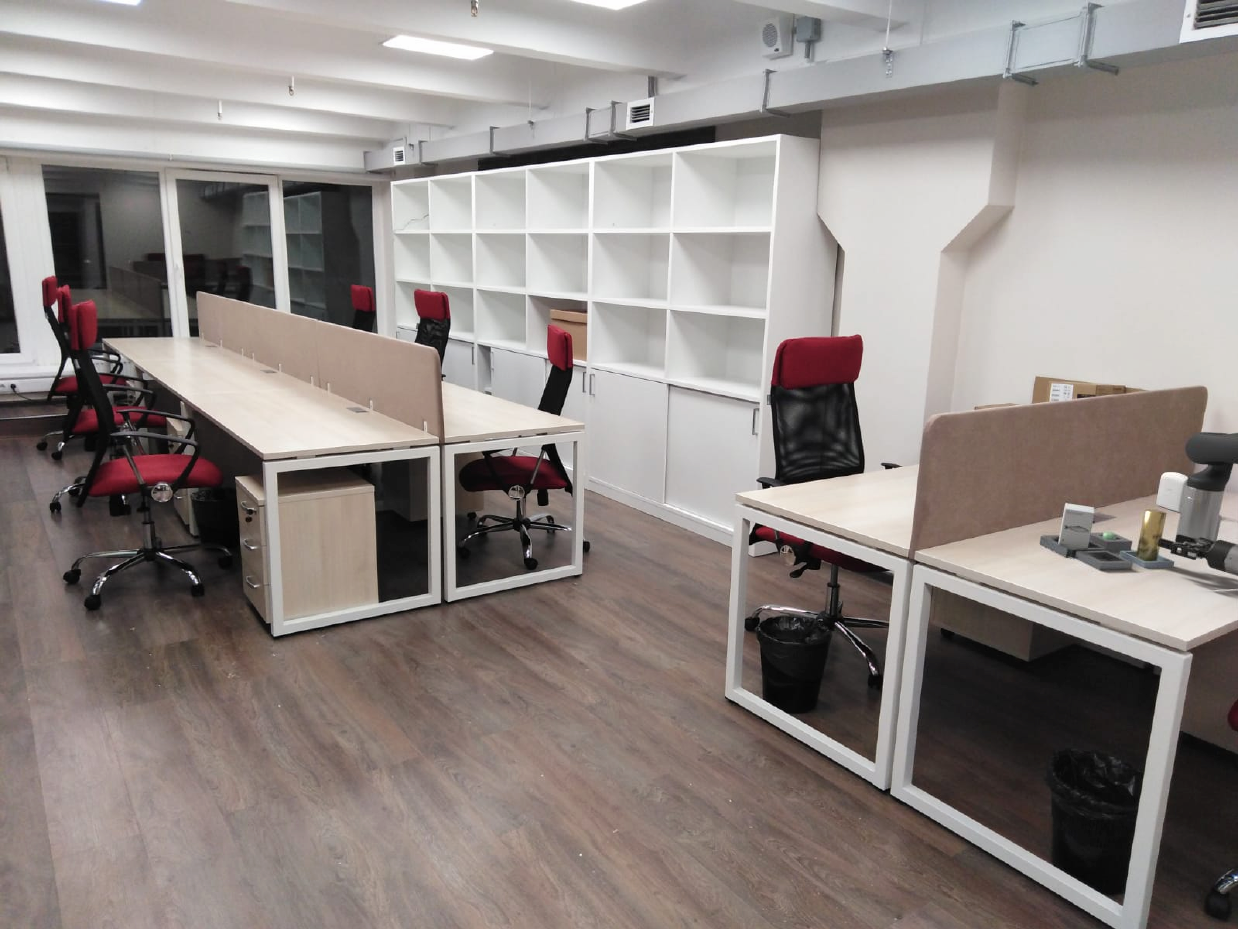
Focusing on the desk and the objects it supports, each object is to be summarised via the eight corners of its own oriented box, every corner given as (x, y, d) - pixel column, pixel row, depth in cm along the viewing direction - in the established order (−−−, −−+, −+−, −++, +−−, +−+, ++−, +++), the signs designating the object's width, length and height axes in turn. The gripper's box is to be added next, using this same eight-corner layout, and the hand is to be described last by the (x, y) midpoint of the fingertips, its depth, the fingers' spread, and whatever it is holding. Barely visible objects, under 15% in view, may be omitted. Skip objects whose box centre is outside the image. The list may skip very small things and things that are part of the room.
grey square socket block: (1109, 543, 250) (1111, 532, 249) (1130, 553, 242) (1132, 541, 241) (1085, 544, 248) (1087, 532, 247) (1104, 553, 241) (1107, 541, 240)
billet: (1146, 558, 237) (1156, 509, 233) (1161, 564, 232) (1171, 514, 229) (1130, 558, 236) (1140, 509, 233) (1144, 564, 231) (1154, 514, 228)
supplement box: (1057, 551, 240) (1064, 508, 237) (1057, 544, 247) (1065, 502, 244) (1086, 557, 237) (1094, 512, 234) (1086, 549, 244) (1094, 506, 241)
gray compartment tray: (1076, 543, 249) (1078, 534, 248) (1135, 571, 227) (1137, 562, 227) (1038, 543, 247) (1039, 535, 246) (1094, 572, 225) (1095, 563, 224)
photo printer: (1153, 504, 296) (1160, 469, 293) (1163, 504, 297) (1170, 469, 294) (1178, 513, 286) (1185, 477, 283) (1189, 513, 287) (1196, 477, 284)
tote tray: (1147, 557, 239) (1148, 550, 239) (1173, 568, 230) (1174, 561, 230) (1118, 557, 237) (1120, 551, 237) (1143, 569, 229) (1144, 562, 228)
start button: (1109, 541, 247) (1111, 531, 246) (1117, 545, 243) (1119, 535, 243) (1098, 542, 246) (1100, 532, 245) (1107, 546, 243) (1109, 535, 242)
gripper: (1252, 541, 218) (1184, 523, 231) (1223, 548, 211) (1155, 529, 224) (1245, 569, 219) (1179, 549, 233) (1216, 577, 212) (1149, 556, 226)
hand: (1167, 539), depth 229 cm, fingers open, 8 cm apart
